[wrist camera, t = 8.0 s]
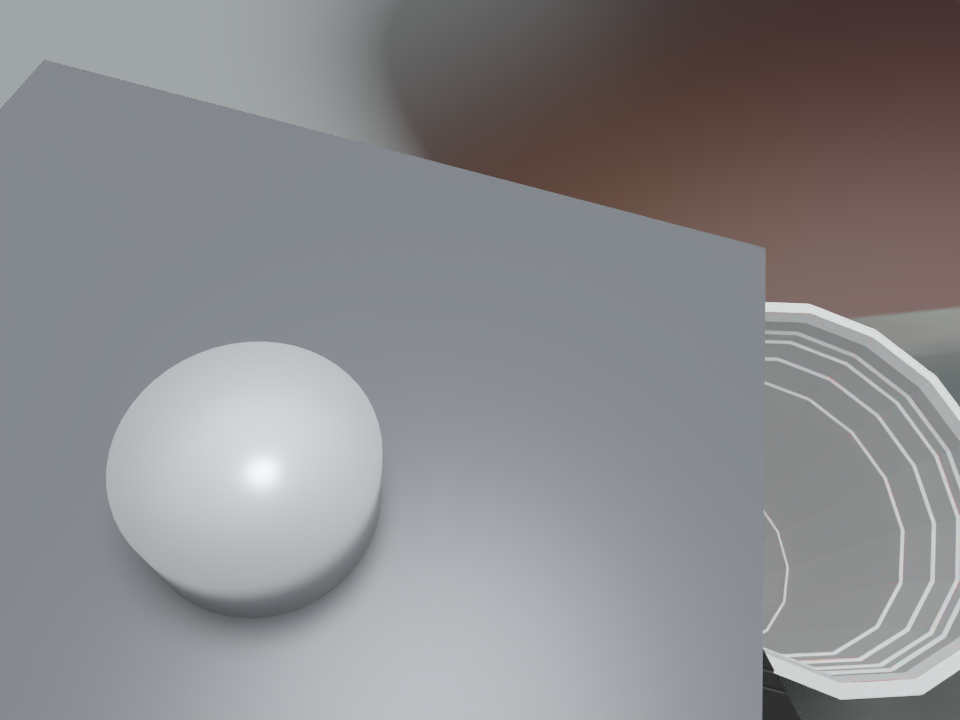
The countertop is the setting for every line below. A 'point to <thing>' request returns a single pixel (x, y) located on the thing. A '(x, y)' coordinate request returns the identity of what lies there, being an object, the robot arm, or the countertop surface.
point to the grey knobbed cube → (360, 432)
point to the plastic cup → (857, 510)
